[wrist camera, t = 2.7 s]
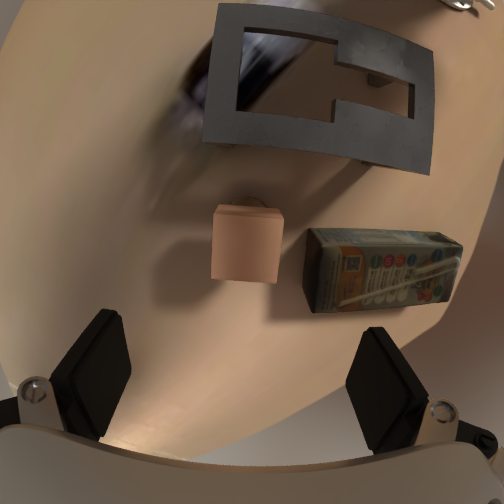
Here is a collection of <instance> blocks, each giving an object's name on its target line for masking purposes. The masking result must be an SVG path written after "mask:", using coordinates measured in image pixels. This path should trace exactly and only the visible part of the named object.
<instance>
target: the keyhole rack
mask: <svg viewBox="0 0 504 504" xmlns="http://www.w3.org/2000/svg"><path fill="white" fill-rule="evenodd" d="M244 32H251V33H264V34H274V35H282V36H290V37H296V38H303V39H309V40H314V41H319V42H324V43H329V44H333V45H335V51H334V65H337V66H342V67H346V68H350V69H354V70H358V71H362V72H365V73H368V85H371V86H375V87H378V88H380V87H382V86H384V85H387V84H389V83H391V82H397V83H400V84H403V85H406V86H409V97H408V118H407V117H404V116H401V115H398V114H395V113H391V112H388V111H384V110H381V109H377V108H373V107H370V106H366V105H362V104H358V103H353V102H349V101H345V100H340V99H335V100H333V101H332V108H331V121H330V122H325V121H319V120H313V119H306V118H300V117H292V116H284V115H276V114H266V113H255V112H242V111H236V106H237V95H238V85H239V75H240V66H241V62H242V52H243V51H242V48H243V39H244ZM434 104H435V89H434V62H433V51H431V50H429V49H427V48H425V47H423V46H420V45H418V44H416V43H414V42H411V41H409V40H406V39H404V38H401V37H399V36H396V35H394V34H391V33H388V32H385V31H383V30H380V29H377V28H374V27H371V26H368V25H364V24H361V23H358V22H354V21H350V20H347V19H343V18H339V17H335V16H331V15H326V14H321V13H316V12H311V11H306V10H300V9H293V8H286V7H278V6H269V5H258V4H240V3H219V4H218V10H217V16H216V23H215V29H214V36H213V43H212V50H211V57H210V65H209V73H208V82H207V91H206V100H205V110H204V121H203V133H202V142H204V143H208V144H211V145H215V146H218V147H232V148H233V145H234V144H242V145H254V146H266V147H275V148H285V149H293V150H301V151H308V152H315V153H322V154H329V155H335V156H341V157H346V158H352V159H357V160H362V164H365V165H370V166H376V167H383V168H389V169H396V170H401V171H407V172H413V173H418V174H423V175H428V176H429V174H430V166H431V156H432V145H433V131H434Z"/></svg>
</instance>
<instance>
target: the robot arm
mask: <svg viewBox="0 0 504 504" xmlns="http://www.w3.org/2000/svg"><path fill="white" fill-rule="evenodd" d="M441 1H443V2H444V3H446V4H447V5H449V6H451V7H453V8H456V9H459V10H466V9H468V8H470V7H471V6H472V4H473V0H441ZM475 1H476V2H481V3H482V4H483V5H484V6H485V7H487V8H488V9H489V10H493V9H494V8H495V5H494V3H493V2H491V1H490V0H475ZM130 375H131V363H130V358H129V354H128V349H127V344H126V339H125V334H124V328H123V322H122V317H121V315H118V313H117V311H115V310H109V309H101V310H100V312H99V313H98V314H97V315H96V316H95V318H94V319H93V320H92V321H91V323H90V324H89V325H88V326H87V328H86V329H85V330H84V332H83V333H82V334H81V335H80V337H79V338H78V339H77V341H76V342H75V343H74V344H73V346H72V347H71V348H70V350H69V351H68V352H67V354H66V355H65V356H64V358H63V359H62V360H61V362H60V363H59V365H58V366H57V367H56V369H55V370H54V372H53V373H52V374H51V377H50V379H49V380H47V379H46V378H44V377H39V376H35V377H30V378H27V379H26V380H24V381H23V382H22V383H21V384H20V385H19V388H18V390H17V396H16V397H13V398H9V399H5V400H2V401H0V504H504V448H503V447H502V446H501V447H500V448H498V442H497V439H496V437H495V435H494V434H492V433H491V432H490V431H488V430H485V429H482V428H480V427H476V426H474V425H471V424H469V423H466V422H464V421H461V420H459V412H458V409H457V408H456V406H455V405H454V404H453V403H452V402H450V401H448V400H446V399H443V398H435V399H433V400H431V401H430V402H429V400H428V398H427V397H428V396H429V395H428V393H427V391H426V390H425V388H424V387H423V385H422V383H421V382H420V380H419V379H418V377H417V376H416V374H415V373H414V371H413V370H412V368H411V367H410V365H409V364H408V362H407V361H406V360H405V358H404V356H403V355H402V353H401V352H400V350H399V349H398V347H397V346H396V344H395V343H394V342H393V340H392V339H391V337H390V336H389V334H388V333H387V332H386V330H385V329H384V328H383V327H369V328H368V329H367V331H364V332H363V335H362V338H361V341H360V344H359V346H358V349H357V352H356V355H355V358H354V360H353V363H352V366H351V368H350V371H349V373H348V376H347V378H346V389H347V392H348V394H349V397H350V400H351V402H352V405H353V408H354V410H355V413H356V416H357V418H358V421H359V424H360V427H361V429H362V432H363V435H364V438H365V441H366V443H367V446H368V449H369V450H372V451H373V454H374V455H372V456H366V457H361V458H355V459H349V460H343V461H336V462H327V463H318V464H308V465H293V466H231V465H217V464H206V463H197V462H188V461H181V460H175V459H168V458H163V457H157V456H152V455H147V454H143V453H138V452H134V451H130V450H126V449H122V448H118V447H114V446H110V445H107V444H103V443H100V442H98V441H99V439H100V437H104V436H105V434H106V431H107V429H108V426H109V424H110V421H111V419H112V417H113V414H114V412H115V409H116V407H117V405H118V402H119V400H120V398H121V396H122V393H123V391H124V389H125V386H126V384H127V382H128V380H129V377H130Z"/></svg>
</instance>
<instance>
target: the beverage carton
mask: <svg viewBox="0 0 504 504" xmlns="http://www.w3.org/2000/svg"><path fill="white" fill-rule="evenodd" d="M462 252H463V246H462V245H460V244H459V243H457V242H456V241H454V240H452V239H450V238H449V237H447V236H445V235H443V234H441V233H439V232H419V231H399V230H380V229H353V228H309V229H308V235H307V245H306V255H305V263H304V272H303V282H302V287H303V290H304V293H305V296H306V299H307V302H308V305H309V307H310V310H311V312H312V313H313V314H314V313H333V312H348V311H363V310H373V309H384V308H396V307H405V306H415V305H423V304H430V303H440V302H448V301H449V299H450V296H451V293H452V290H453V286H454V282H455V279H456V275H457V272H458V268H459V266H460V261H461V257H462Z"/></svg>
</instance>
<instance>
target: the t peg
mask: <svg viewBox="0 0 504 504" xmlns="http://www.w3.org/2000/svg"><path fill="white" fill-rule="evenodd" d="M283 226H284V218H283V216H282V214H281V213H280V211H279V209H274V208H266V207H265V205H264V204H263V203H262V202H261V201H259V200H258V199H255V198H252V197H241V198H238V199H236V200H234V201H233V202H232V203H231V204H230V205H223V204H219V205H218V207H217V209H216V211H215V212H214V214H213V235H212V260H211V279H221V280H234V281H247V282H262V283H276V282H277V275H278V267H279V259H280V251H281V243H282V235H283Z"/></svg>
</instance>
